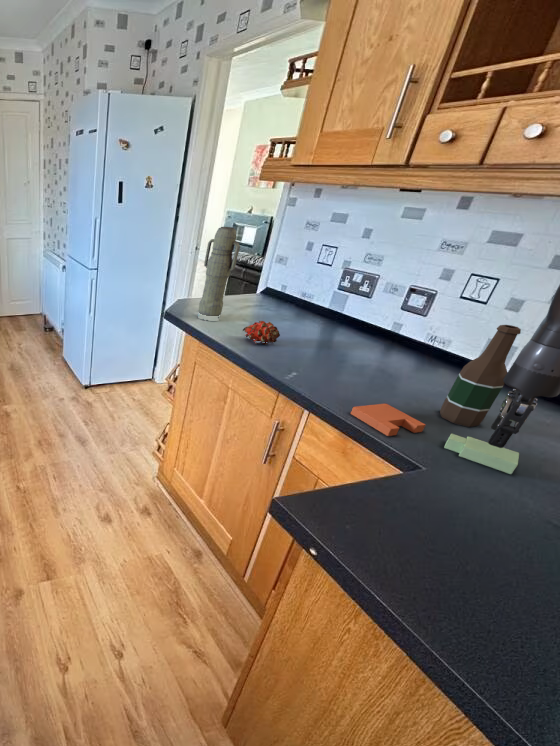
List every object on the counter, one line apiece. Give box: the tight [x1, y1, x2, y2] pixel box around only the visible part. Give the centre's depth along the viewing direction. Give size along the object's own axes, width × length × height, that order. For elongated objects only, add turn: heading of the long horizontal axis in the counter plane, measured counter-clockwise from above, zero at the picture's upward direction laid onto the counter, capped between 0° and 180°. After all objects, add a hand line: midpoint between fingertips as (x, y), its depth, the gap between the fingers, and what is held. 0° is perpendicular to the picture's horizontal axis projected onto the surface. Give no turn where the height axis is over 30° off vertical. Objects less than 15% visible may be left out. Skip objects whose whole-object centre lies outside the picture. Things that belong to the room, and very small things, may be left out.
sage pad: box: [443, 433, 520, 475], centre depth 87 cm, size 6×11×2 cm, turn 42°
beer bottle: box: [439, 324, 522, 428], centre depth 96 cm, size 8×8×24 cm
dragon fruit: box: [242, 320, 281, 345], centre depth 144 cm, size 8×8×12 cm
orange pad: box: [350, 403, 426, 437], centre depth 99 cm, size 10×10×2 cm
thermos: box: [197, 226, 241, 322], centre depth 161 cm, size 9×12×35 cm
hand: (496, 437), depth 85 cm, fingers open, 8 cm apart
